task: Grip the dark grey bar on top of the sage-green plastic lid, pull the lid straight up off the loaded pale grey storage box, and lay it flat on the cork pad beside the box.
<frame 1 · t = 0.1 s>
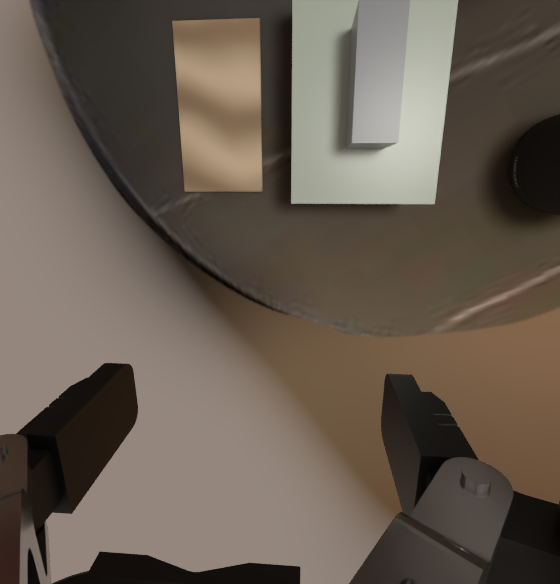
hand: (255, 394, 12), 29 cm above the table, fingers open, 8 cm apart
pen holder: (554, 164, 36), on the table
cork pad: (220, 111, 36), on the table
lid: (364, 96, 30), point 6 cm above the table, touching storage box
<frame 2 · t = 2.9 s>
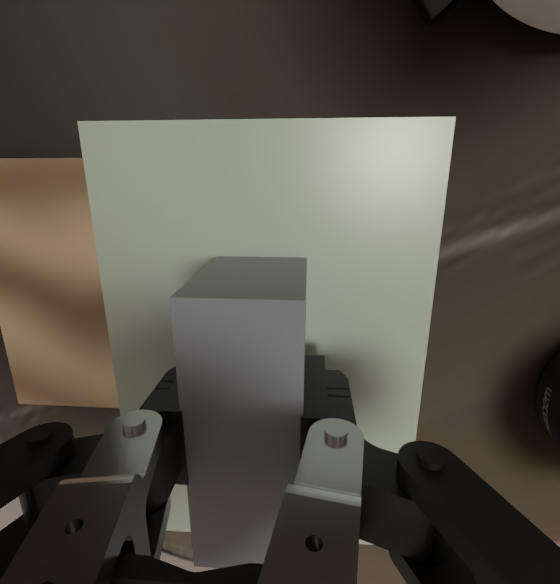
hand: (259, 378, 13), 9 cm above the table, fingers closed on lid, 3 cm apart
cork pad: (61, 292, 22), on the table
lid: (269, 339, 16), point 6 cm above the table, touching gripper, storage box
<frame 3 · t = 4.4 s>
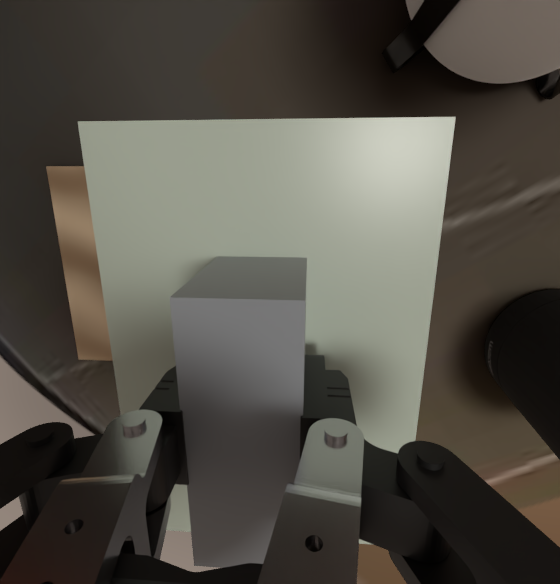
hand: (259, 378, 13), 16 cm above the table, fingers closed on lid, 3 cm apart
pen holder: (541, 342, 28), on the table
cork pad: (116, 269, 29), on the table
lid: (269, 339, 16), point 12 cm above the table, touching gripper
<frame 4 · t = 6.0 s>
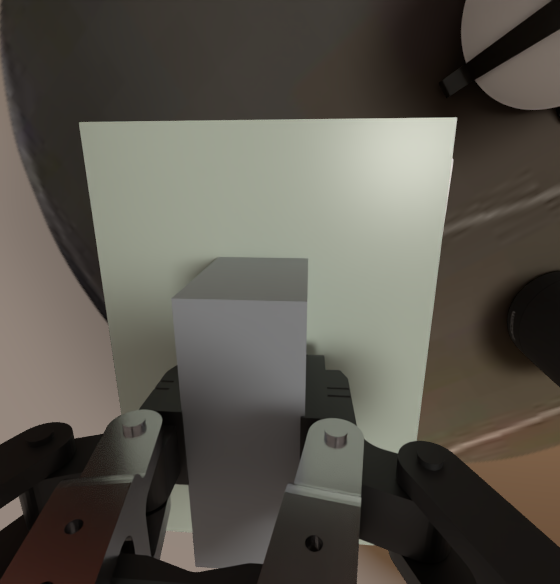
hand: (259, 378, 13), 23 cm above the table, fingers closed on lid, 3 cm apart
pen holder: (552, 314, 35), on the table
coffee press: (530, 10, 28), on the table
lid: (270, 340, 16), point 20 cm above the table, touching gripper
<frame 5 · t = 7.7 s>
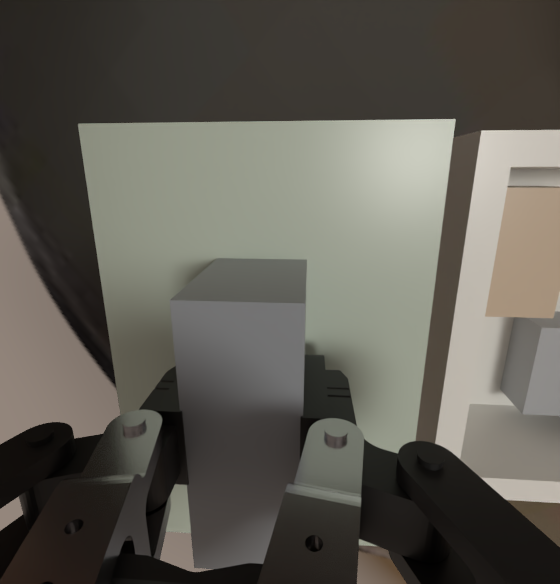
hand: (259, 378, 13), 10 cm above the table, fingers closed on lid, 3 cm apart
lid: (269, 341, 16), point 7 cm above the table, touching gripper
storage box: (505, 292, 22), on the table
when the fingers open (5 cm above the table, at t = 9.3 s): lid drops 1 cm, resting on cork pad.
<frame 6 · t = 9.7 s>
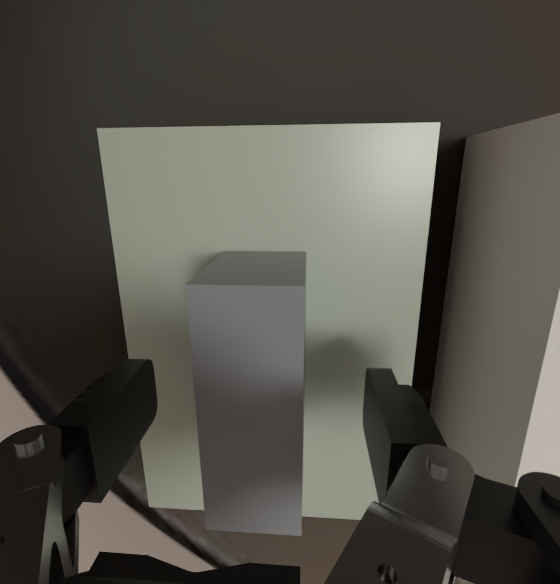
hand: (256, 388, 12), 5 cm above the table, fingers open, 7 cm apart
lid: (272, 329, 17), resting on cork pad
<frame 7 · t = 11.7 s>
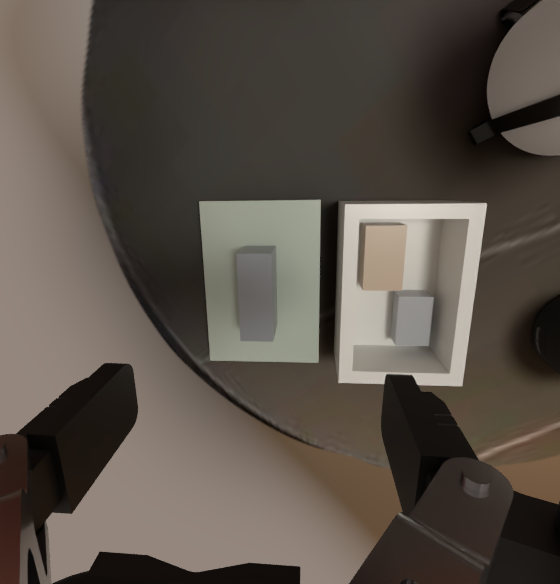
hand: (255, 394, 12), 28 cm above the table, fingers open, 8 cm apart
coffee press: (544, 70, 33), on the table
lid: (264, 280, 39), resting on cork pad
storage box: (389, 280, 39), on the table
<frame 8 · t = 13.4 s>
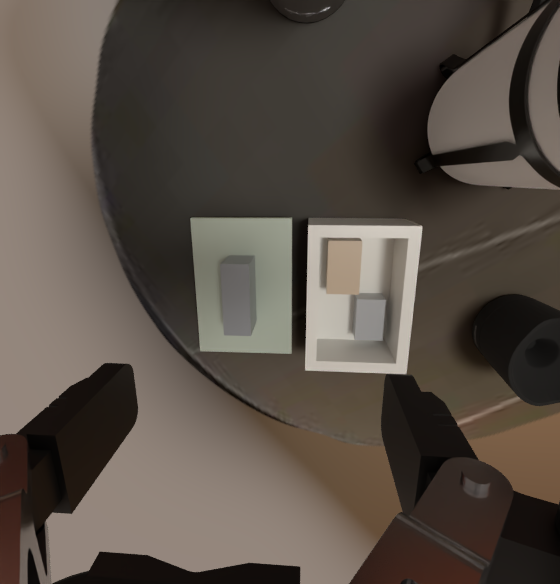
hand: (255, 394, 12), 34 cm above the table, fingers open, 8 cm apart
pen holder: (506, 326, 46), on the table
coffee press: (477, 112, 39), on the table
lid: (246, 283, 46), resting on cork pad
storage box: (352, 284, 46), on the table
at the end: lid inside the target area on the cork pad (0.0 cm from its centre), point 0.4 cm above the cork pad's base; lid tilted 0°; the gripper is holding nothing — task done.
